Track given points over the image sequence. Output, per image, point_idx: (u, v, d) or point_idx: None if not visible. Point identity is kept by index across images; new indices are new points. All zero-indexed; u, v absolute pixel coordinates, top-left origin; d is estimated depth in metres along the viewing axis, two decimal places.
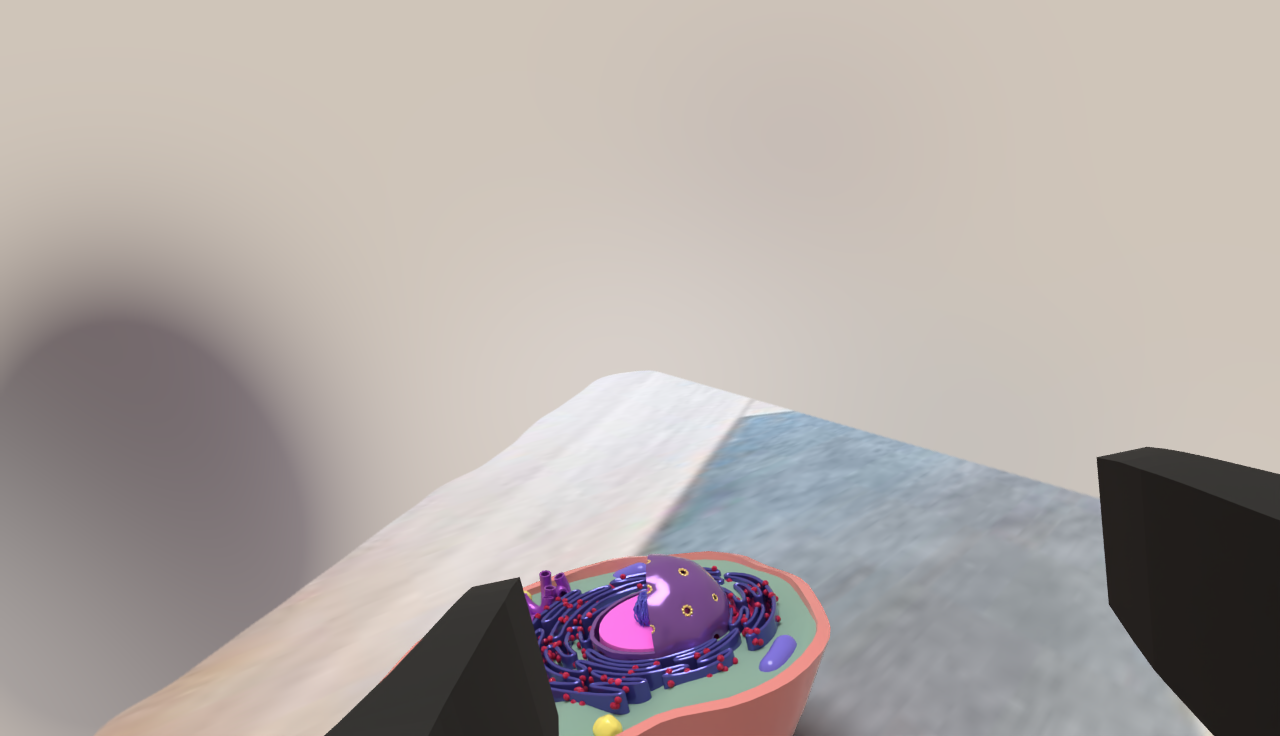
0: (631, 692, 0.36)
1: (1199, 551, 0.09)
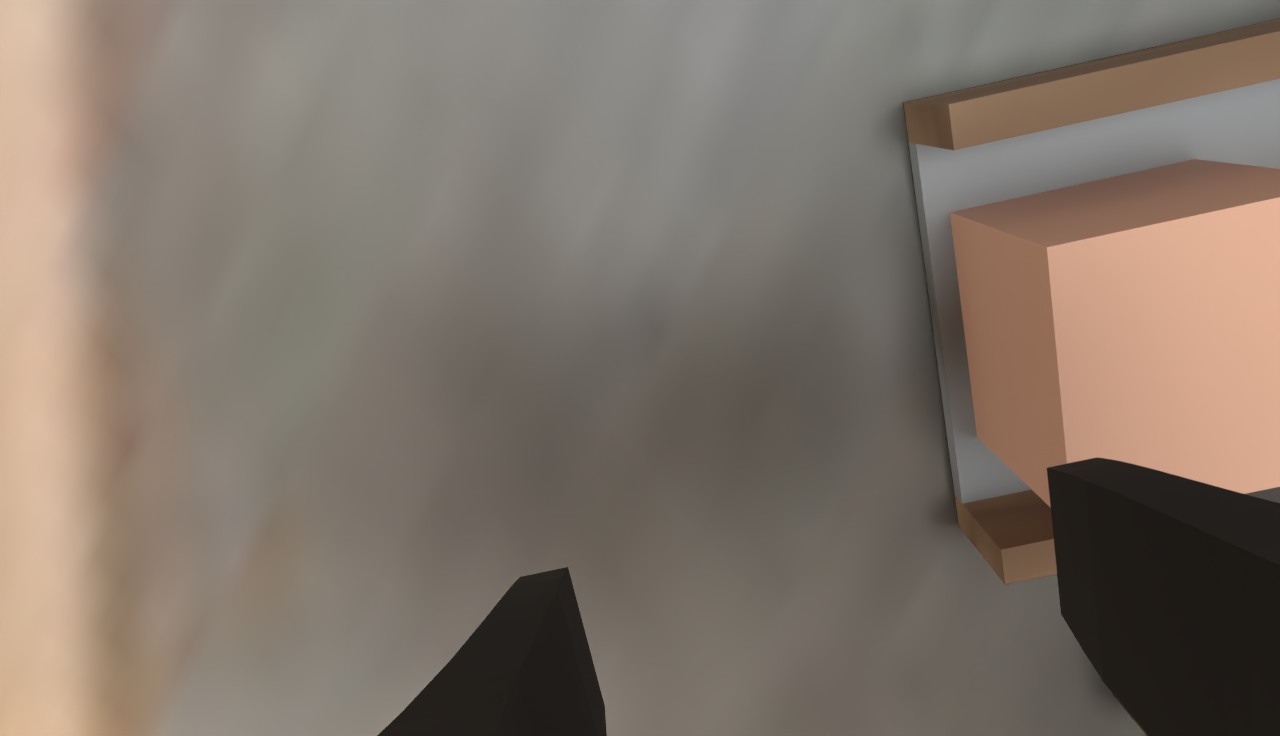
0: None
1: (1139, 564, 0.09)
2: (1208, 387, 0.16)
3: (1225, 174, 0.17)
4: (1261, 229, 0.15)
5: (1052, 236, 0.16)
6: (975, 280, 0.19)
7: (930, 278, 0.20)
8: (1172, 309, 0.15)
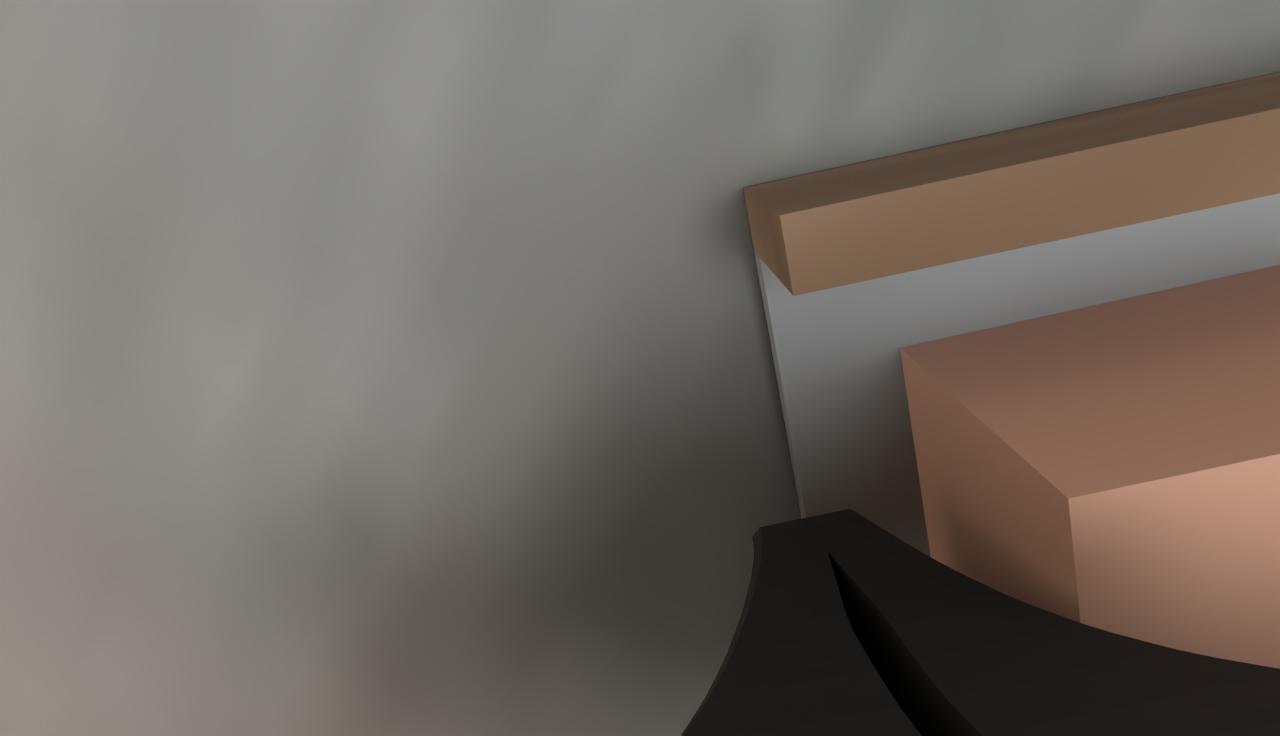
0: None
1: None
2: None
3: None
4: None
5: (1077, 458, 0.08)
6: (942, 472, 0.11)
7: (794, 465, 0.12)
8: None
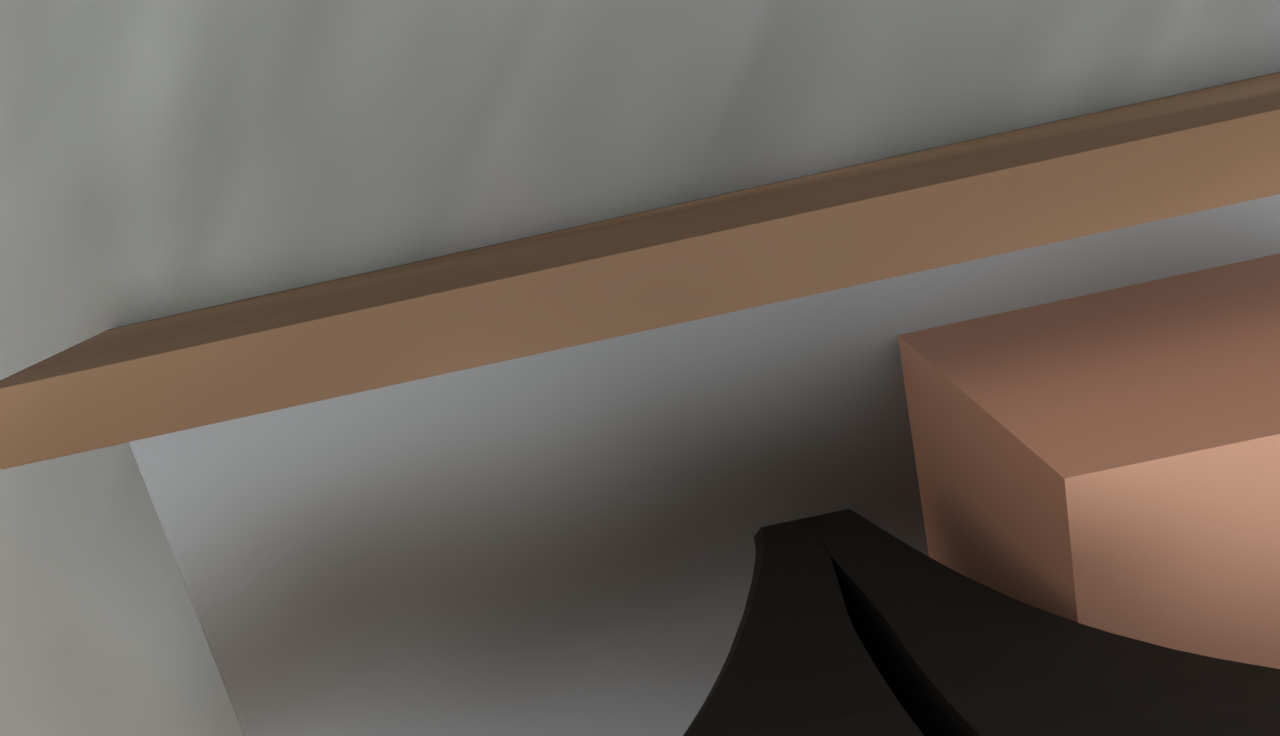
0: None
1: None
2: None
3: None
4: None
5: (1074, 439, 0.08)
6: (938, 458, 0.11)
7: (198, 592, 0.13)
8: None
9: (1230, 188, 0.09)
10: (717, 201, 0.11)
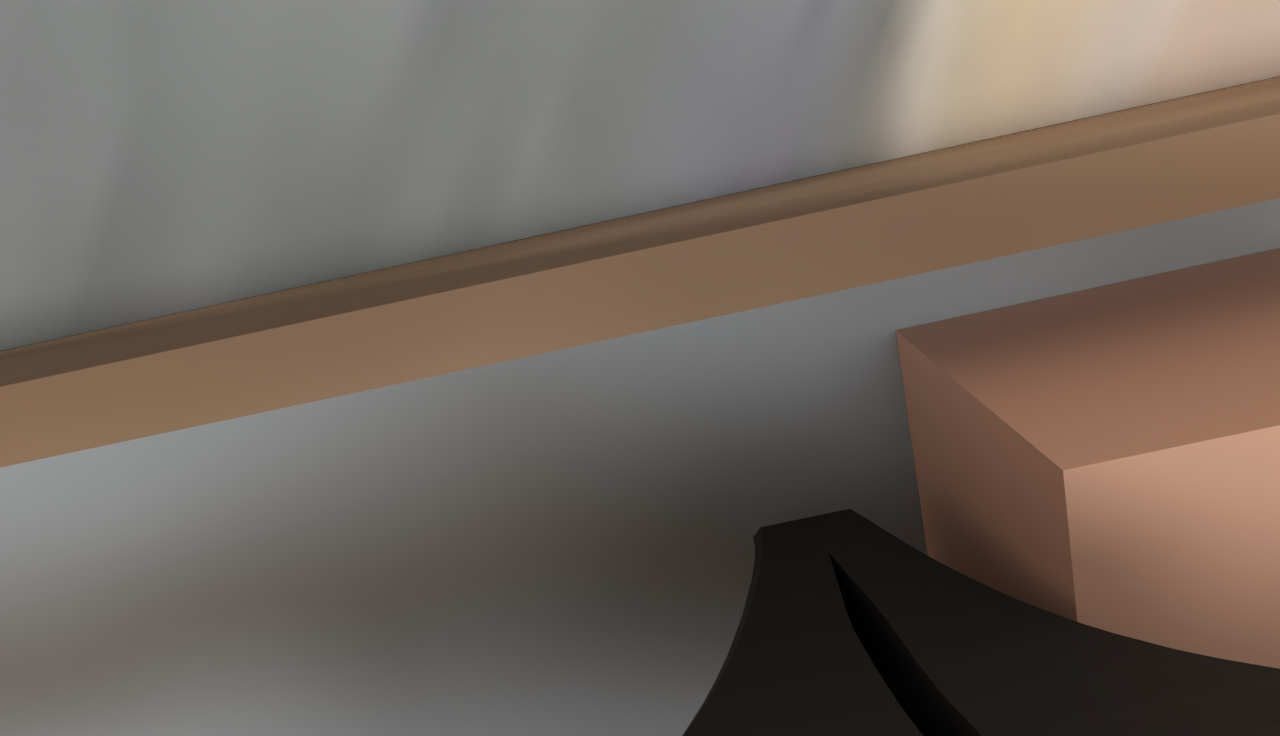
0: None
1: None
2: None
3: None
4: None
5: (1072, 432, 0.08)
6: (936, 454, 0.11)
7: None
8: None
9: (421, 363, 0.09)
10: (66, 342, 0.11)
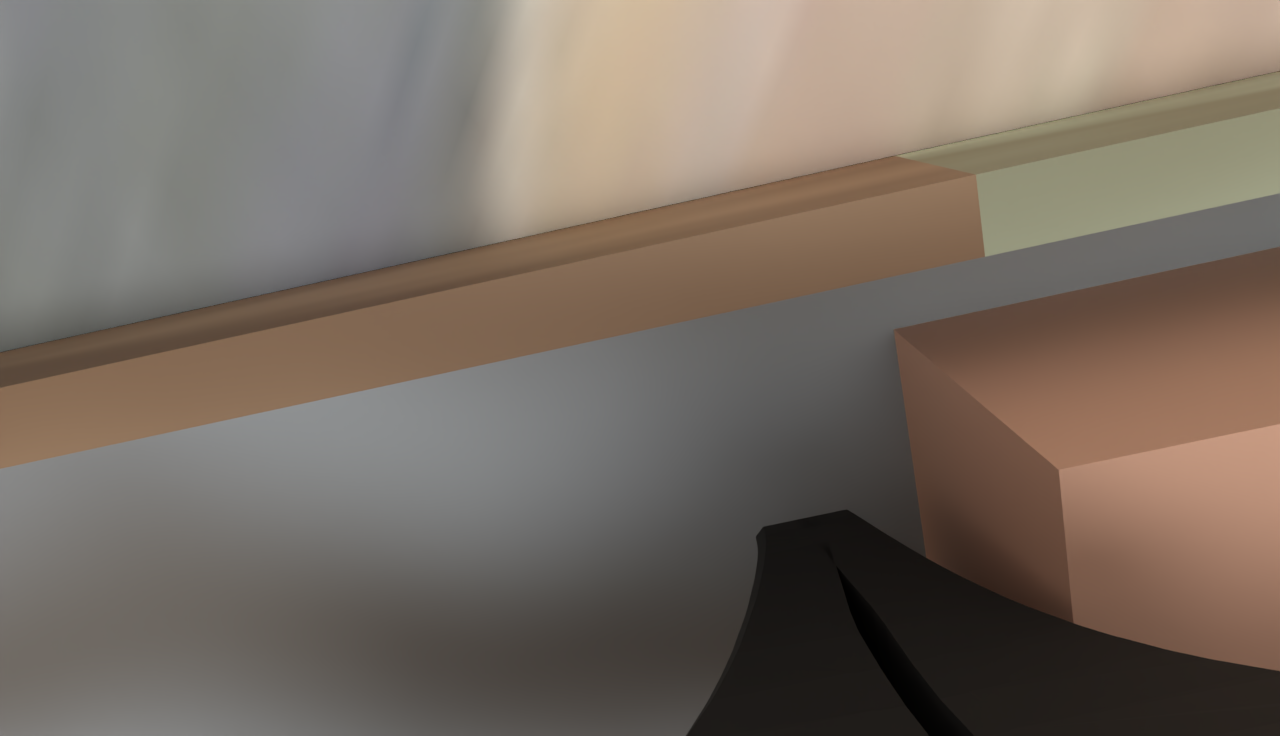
0: None
1: None
2: None
3: None
4: None
5: (1068, 431, 0.08)
6: (933, 452, 0.11)
7: None
8: None
9: None
10: None
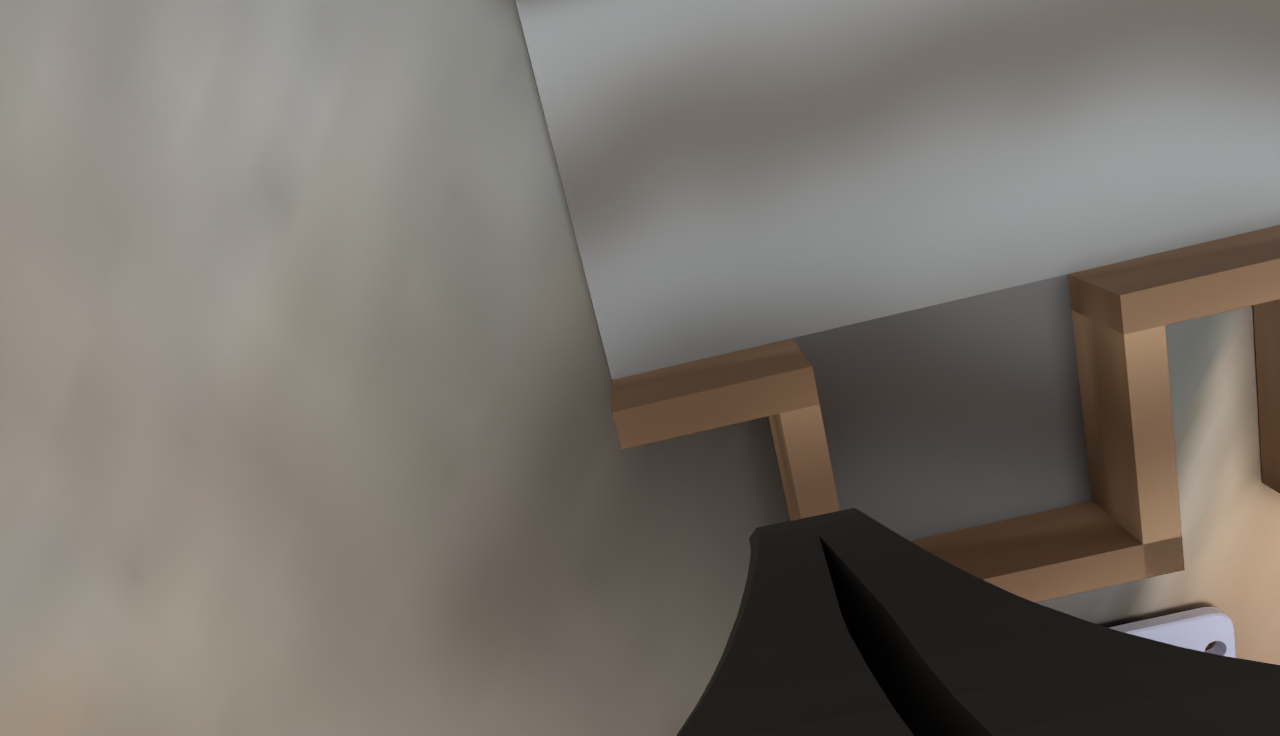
0: None
1: (852, 622, 0.10)
2: None
3: None
4: None
5: None
6: None
7: (552, 141, 0.19)
8: None
9: None
10: None
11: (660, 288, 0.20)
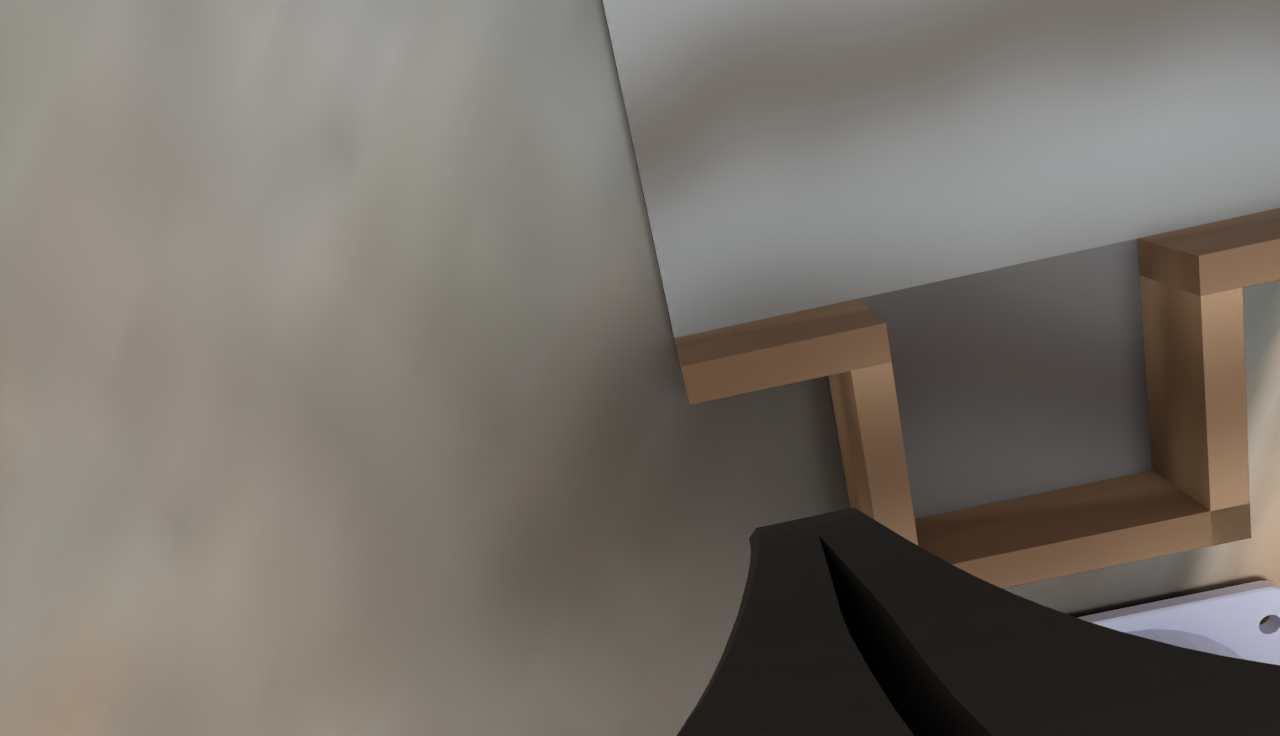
0: None
1: (852, 622, 0.10)
2: None
3: None
4: None
5: None
6: None
7: (622, 93, 0.19)
8: None
9: None
10: None
11: (726, 245, 0.20)
